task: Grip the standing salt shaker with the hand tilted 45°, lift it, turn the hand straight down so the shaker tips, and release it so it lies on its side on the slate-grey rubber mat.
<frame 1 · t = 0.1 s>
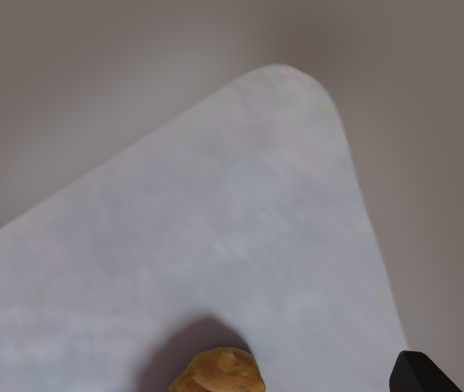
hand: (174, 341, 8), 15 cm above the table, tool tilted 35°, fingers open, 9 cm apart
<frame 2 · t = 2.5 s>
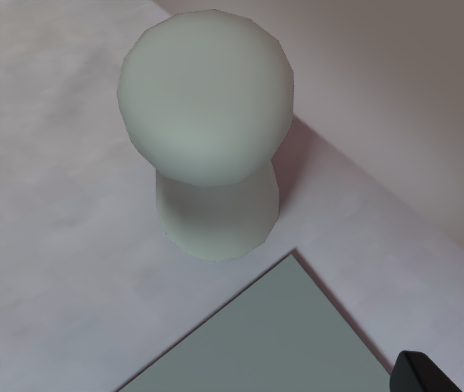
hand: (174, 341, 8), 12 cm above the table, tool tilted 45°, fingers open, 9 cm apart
salt shaker: (220, 213, 21), on the table
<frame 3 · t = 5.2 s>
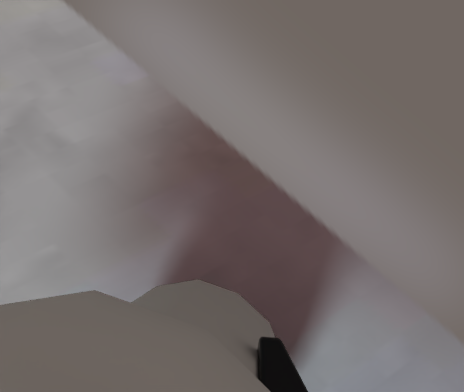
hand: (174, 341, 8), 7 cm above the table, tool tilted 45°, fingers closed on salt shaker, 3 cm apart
salt shaker: (195, 369, 14), on the table, touching gripper
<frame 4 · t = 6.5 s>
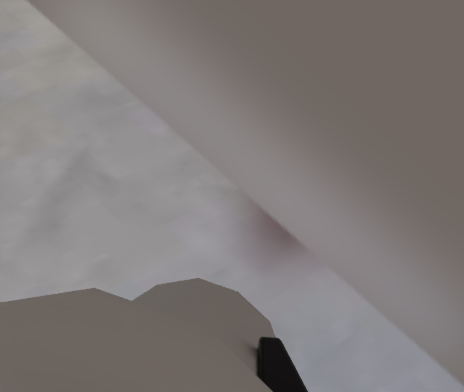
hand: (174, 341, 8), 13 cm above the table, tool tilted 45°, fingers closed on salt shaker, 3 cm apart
salt shaker: (195, 367, 14), point 6 cm above the table, touching gripper
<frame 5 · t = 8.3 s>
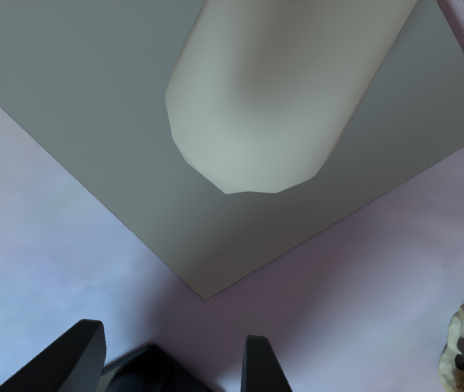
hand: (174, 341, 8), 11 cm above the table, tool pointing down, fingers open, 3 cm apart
salt shaker: (234, 148, 15), point 2 cm above the table, touching slate mat
slate mat: (224, 88, 16), on the table
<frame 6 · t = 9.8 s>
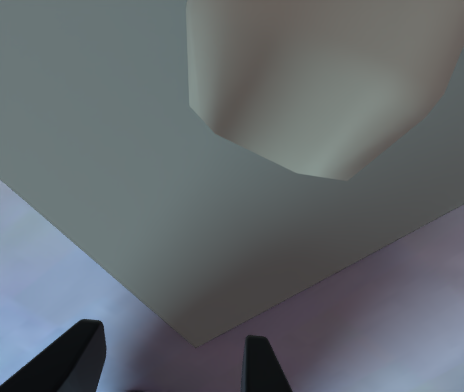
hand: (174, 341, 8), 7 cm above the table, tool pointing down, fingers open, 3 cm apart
salt shaker: (265, 146, 10), point 4 cm above the table, touching slate mat
slate mat: (216, 100, 13), on the table
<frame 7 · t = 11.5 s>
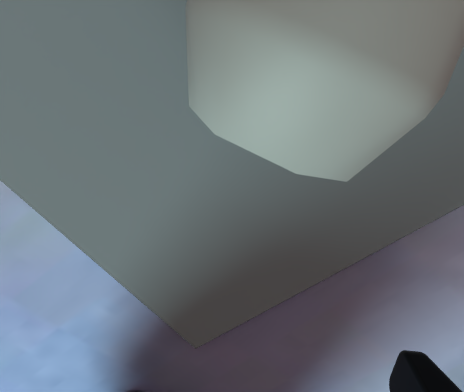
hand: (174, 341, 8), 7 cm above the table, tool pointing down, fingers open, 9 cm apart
salt shaker: (264, 147, 10), point 4 cm above the table, touching slate mat
slate mat: (216, 100, 13), on the table
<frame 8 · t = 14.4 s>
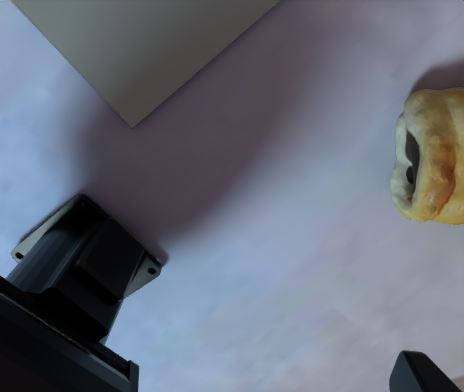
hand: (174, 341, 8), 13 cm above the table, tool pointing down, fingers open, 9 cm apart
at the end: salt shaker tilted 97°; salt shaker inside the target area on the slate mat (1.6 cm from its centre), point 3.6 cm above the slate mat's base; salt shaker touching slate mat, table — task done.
